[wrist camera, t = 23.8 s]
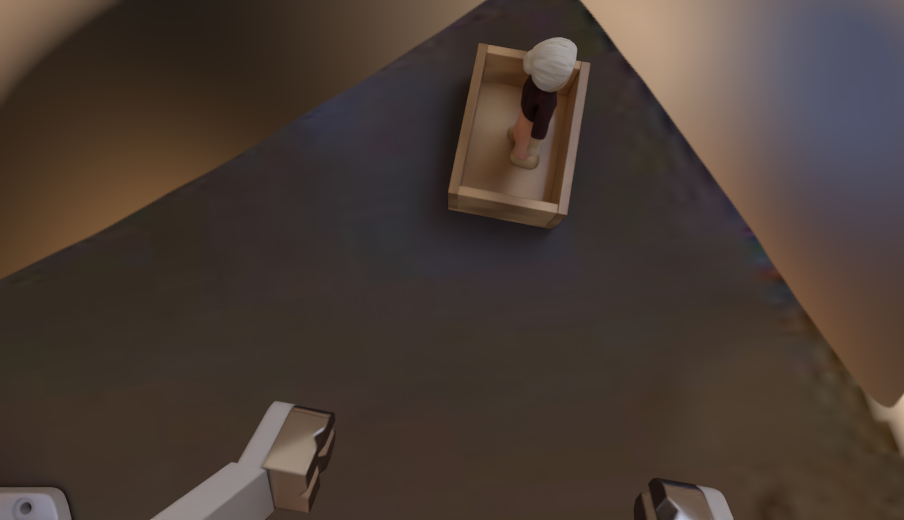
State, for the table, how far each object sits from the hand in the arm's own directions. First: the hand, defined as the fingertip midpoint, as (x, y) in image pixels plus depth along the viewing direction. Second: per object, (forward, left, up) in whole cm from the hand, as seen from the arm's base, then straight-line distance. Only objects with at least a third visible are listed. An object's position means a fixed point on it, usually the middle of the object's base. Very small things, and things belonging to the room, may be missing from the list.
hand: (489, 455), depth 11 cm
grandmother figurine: (+2, +21, -25) cm, 32 cm away
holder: (+1, +20, -25) cm, 32 cm away
